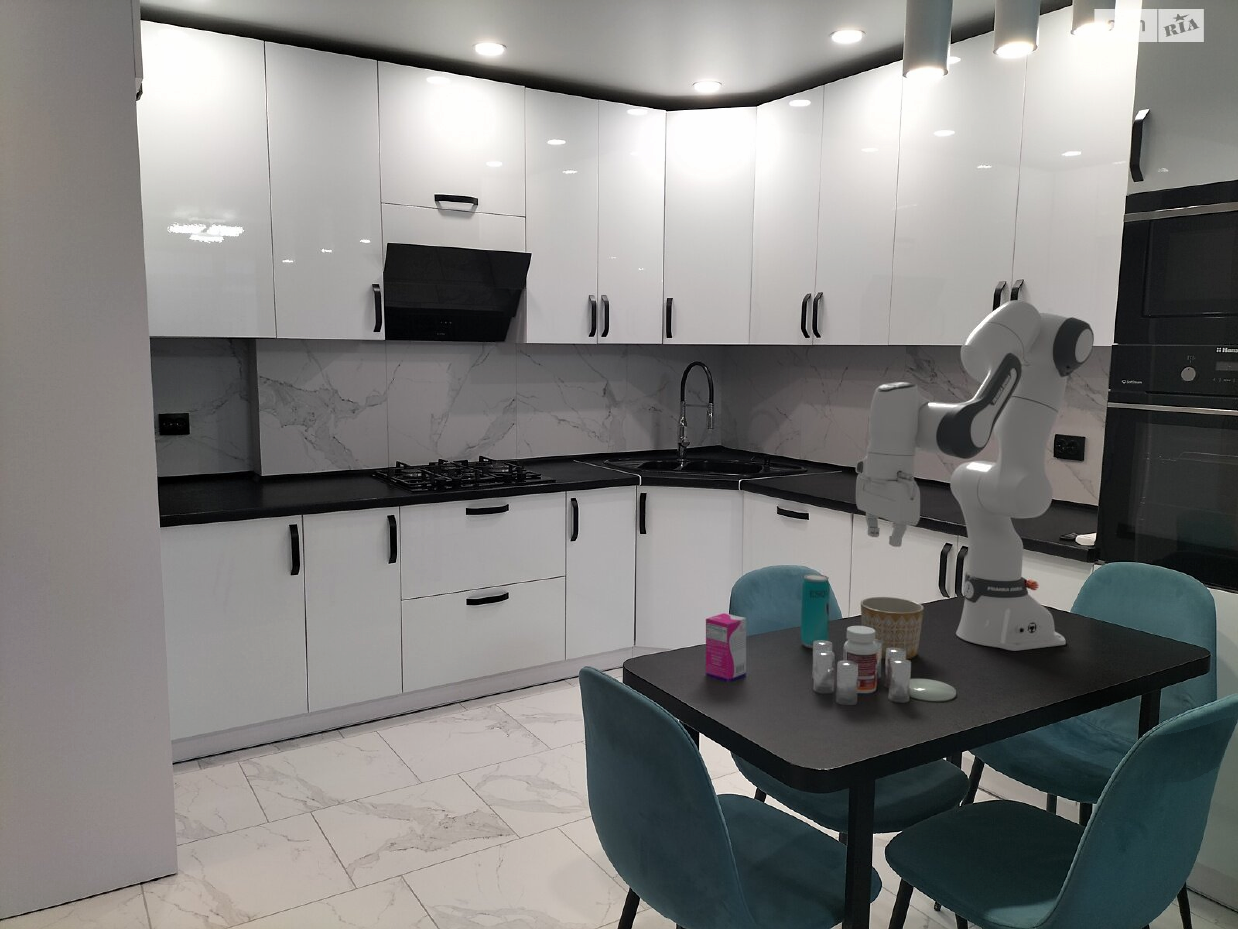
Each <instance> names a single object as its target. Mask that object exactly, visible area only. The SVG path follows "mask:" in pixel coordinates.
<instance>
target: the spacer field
mask: <svg viewBox="0 0 1238 929" xmlns="http://www.w3.org/2000/svg"><path fill="white" fill-rule="evenodd" d="M874 643H875V644H876V645H877V647H878V660H877V680H880V678H881V677H882V676H881V673H882V672H881V671H882V659H881V654H882V641H881V640H878V639H875V641H874ZM835 656H836V654H835V652H833V643H832V642H831V641H828V640H827V641H825V640H817V641H814V642H813V648H812V672H811V675H812V676H811V677H812V680H813V691H814V692H816V693H819V694H832V693H833V692H834V685H835V684H834V683H835V679H834V678H835ZM836 665H837V666H836V668H837V670H836V693H835V694H836V697H835V702H836V703H837V704H839V705H843V706H854V705H857V703H858V693H857V685H858V663H856V662H853V661H847V660H843V659H842V660H839V661H837V664H836ZM884 665H885V666H884V667H885V669H884V687H885V688H886V689H888V699H889V700H890V701H892V702H895V703H901V704H902V703H908V702H909V701H910V698H911V697H910V679H911V676H912V674H911V672H912V662H911V660H910V659H907V660H906V650H904V649H901V648H887V649H886V659H885V664H884Z"/></svg>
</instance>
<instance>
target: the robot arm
mask: <svg viewBox="0 0 1238 929" xmlns="http://www.w3.org/2000/svg"><path fill="white" fill-rule="evenodd" d="M1094 335H1095V334H1094V330H1093V329H1092V327H1091V325H1090V323H1088V322H1086V321H1084V320H1082V319H1079V318H1077V317H1076V318H1075V317H1067V316H1063V315H1058V314H1053V313H1045V312H1039V310H1038V309H1037V308H1036V306H1034V305H1033V304H1031V303H1029V302H1028V301H1024V300H1018V299H1017V300H1015V299H1014V300H1009V301H1007V302H1005V303H1003V304H1001V305H1000V306H998V307H997V308H996V309H994V310H993V311H992V312H991V313H989V314H987V316H986V317H984V318H983V320H981V322H979V324H977V326H975V328H974V329H973V330H971V332H970V333H969V334H968V336H967V337H966V338H965V340H964V341H963V343H962V345H961V348H960V360H961V363H962V365H963V368H964V370H965V371H966V372H967V374H968V375H969V376H970V377H971V378H972V379H973V380H975V381H976V382H978V383H980V384H981V385H980V386H979V388H978V390H977V391H976V393H975V394H974V396H973V397H972V398H971V399H969V400H968V401H963V402H958V403H957V402H956V403H953V402H952V403H950V402H936V401H931V400H930V399H928V398H926V397H924V396H923V395H922V394H921V393H920V392H919V390H918V385H917V384H916V383H912V382H906V381H905V382H903V381H901V382H899V381H898V382H888V383H884V384H881V385H879V386H878V387H876V388H875V391H874V394H873V396H872V399H871V400H872V401H871V404H870V410H869V416H868V417H869V419H868V433H869V443H868V445H867V447H866V454H865V457H863V458H862V459H861V460H858V461H856V464H855V472H856V474H857V476H856V482H855V503H856V504H855V505H856V507H857V510H860V511H863V512H865V522H866V524H867V525H866V526H867V532H866V534H867V536H868V537H871V538H879V536H880V529H881V528H879V524H878V523H879V522H878V519H879V518H881V519H884V520H886V521H889V522H892V525H891V526H892V533H891V535H889V537H888V538H889V542H888V544H889V546H891V547H896V548H897V547H898V548H899V547H901V546H902V543H903V542H902V541H903V538H904V535H905V533H906V531H907V527H908V526H917V525H918V523H919V522H920V519H921V492H920V486H919V485H918V484H917V481H916V480H915V477H914V476H915V464H916V454H917V452H918V451H919V452H924V453H925V452H926V453H929V454H930V453H932V454H940V455H947V456H949V457H955V458H959V459H963V460H964V459H965V460H968V459H971V458H972V459H973V458H974V457H975V456H977V455H979V453H981V452H982V451H983V450H984V449H985V448H986V446H987V445H988V443H989V441H990V439H991V436H992V433H993V435H994V437H995V439H996V440H997V441H998V446H999V447H998V448H999V451H998V457H997V460H996V462H994V461H988V460H973V461H968V462H964V463H961V464H960V465H958V466H957V467H956V468H955V470H954V471H953V473H952V474H951V477H950V483H949V485H950V491H951V493H952V495H953V496H954V497H955V499H956V501H957V502H958V504H959V506H960V509H961V511H962V515H963V518H964V523H965V527H966V533H967V539H968V540H967V541H968V549H967V552H968V553H967V572H965V573H964V574H965V575H964V584H963V585H964V586H963V587H964V588H963V593H964V594H963V595H964V602H963V609H962V613H961V618H960V621H959V625H958V627H957V630H956V632H955V634H956V636H957V637H958V638H959V639H962V640H963V641H966V642H969V643H973V644H977V645H980V646H985V647H986V646H987V647H991V648H1000V649H1003V650H1007V651H1013V652H1016V651H1025V650H1032V649H1041V648H1047V647H1048V648H1050V647H1057V646H1064V645H1066V639H1065V637H1064V636H1063V635H1062V634H1060V633H1059V632H1057V631H1055V628H1056V627H1055V620H1054V616H1053V614H1052V613H1051V612H1050V611H1049V610H1048V609H1047V608H1046V607H1044V606H1043V605H1042V603H1040V602H1038V601H1037V600H1036V599H1035V598H1034V597H1033V596H1031V595H1030V594H1029V590H1028V589H1030V590H1031V591H1037V590H1038V588H1039V586H1040V585H1039V583H1038V582H1037V581H1035V580H1033V579H1028V580H1027V579H1026V578H1025V577H1023V576H1022V575H1023V574H1022V572H1023V555H1024V554H1023V553H1024V545H1023V541H1022V538H1021V537H1020V536H1019V534H1018V533H1017V532H1016V530H1015V527H1014V525H1013V523H1012V519H1029V518H1033V519H1034V518H1037V517H1040V516H1042V515H1043V514H1044V513H1045V512H1046V511H1047V510H1049V508H1050V506H1051V503H1052V500H1053V494H1054V491H1053V485H1052V484H1051V482H1050V480H1049V478H1048V476H1047V473H1046V465H1045V464H1046V462H1045V461H1046V460H1045V458H1046V449H1047V447H1048V446H1047V444H1048V442H1049V439H1050V436H1051V433H1052V430H1053V427H1054V425H1055V421H1056V419H1057V417H1058V415H1059V411H1060V409H1061V406H1062V403H1063V399H1064V396H1065V393H1066V386H1067V381H1068V376H1069V375H1071V374H1072V373H1074V371H1076V370H1078V369H1079V368H1080V367H1082V366H1083V364H1084V363H1085V362H1087V360H1088V359H1089V357H1090V355H1091V354H1092V351H1093V348H1094V344H1095V343H1094V341H1095V340H1094V339H1095V338H1094V337H1095V336H1094ZM916 451H917V452H916ZM1011 518H1012V519H1011Z"/></svg>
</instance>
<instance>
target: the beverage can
mask: <svg viewBox="0 0 1238 929" xmlns="http://www.w3.org/2000/svg"><path fill="white" fill-rule="evenodd" d="M803 578H804V579H803V581H802V585H801V587H802V588H801V609H800V610H801V613H800V614H801V615H800V617H801V618H800V639H801V642H802V644H803V646H804V647H806V648H810V649H813V642H814V641H817V640H825V641H828V639H829V620H830V619H829V618H830V617H829V615H830V593H831V592H830V590H831V588H830V587H831V584H830V582H829V580H830V579H829V577H828V576H827V575H823V574H811V573H810V574H806V575H804V576H803Z"/></svg>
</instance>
